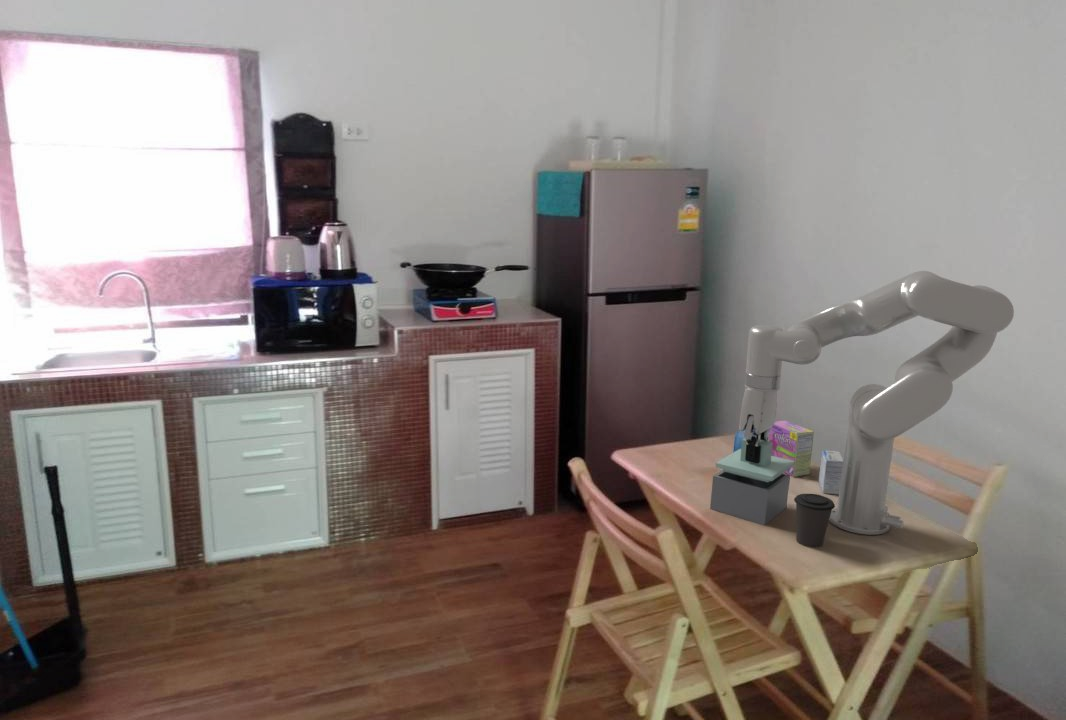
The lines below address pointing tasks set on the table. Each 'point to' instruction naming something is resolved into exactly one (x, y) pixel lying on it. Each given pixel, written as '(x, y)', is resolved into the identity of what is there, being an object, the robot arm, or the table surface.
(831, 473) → the medicine box
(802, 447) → the box
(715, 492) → the parts tub
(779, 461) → the lid
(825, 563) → the table surface
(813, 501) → the coffee cup
